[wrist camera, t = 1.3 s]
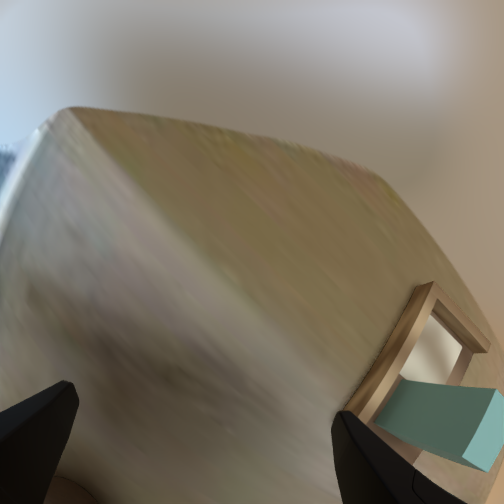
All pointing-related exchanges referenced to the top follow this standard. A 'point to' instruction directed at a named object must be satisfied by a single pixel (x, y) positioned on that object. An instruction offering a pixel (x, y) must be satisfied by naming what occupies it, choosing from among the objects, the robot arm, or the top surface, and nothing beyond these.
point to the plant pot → (67, 493)
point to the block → (447, 421)
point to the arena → (419, 357)
